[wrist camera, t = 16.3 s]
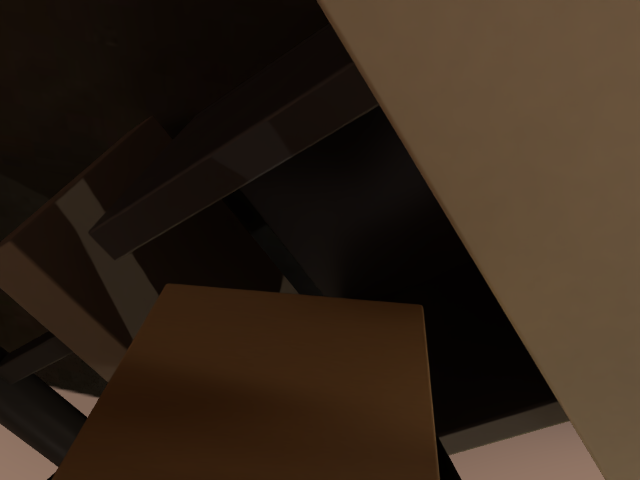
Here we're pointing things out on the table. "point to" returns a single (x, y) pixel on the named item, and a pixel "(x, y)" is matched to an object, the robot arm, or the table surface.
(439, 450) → the robot arm
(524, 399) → the pull-out drawer box
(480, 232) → the beige drawer cabinet
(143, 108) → the table surface
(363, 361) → the block
